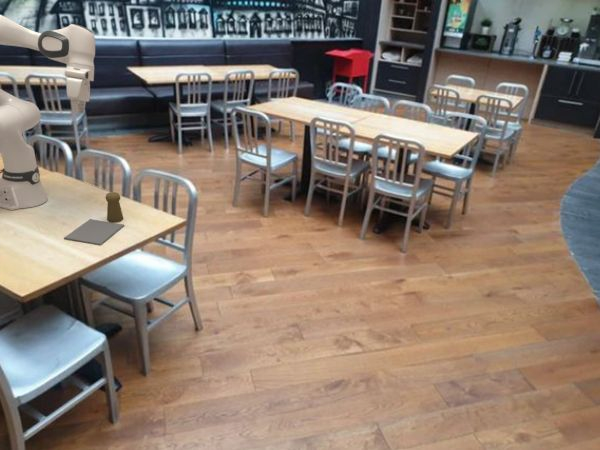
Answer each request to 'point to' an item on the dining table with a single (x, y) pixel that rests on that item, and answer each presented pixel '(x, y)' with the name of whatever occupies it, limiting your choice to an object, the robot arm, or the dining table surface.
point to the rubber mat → (94, 232)
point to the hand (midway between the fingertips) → (78, 113)
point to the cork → (113, 208)
